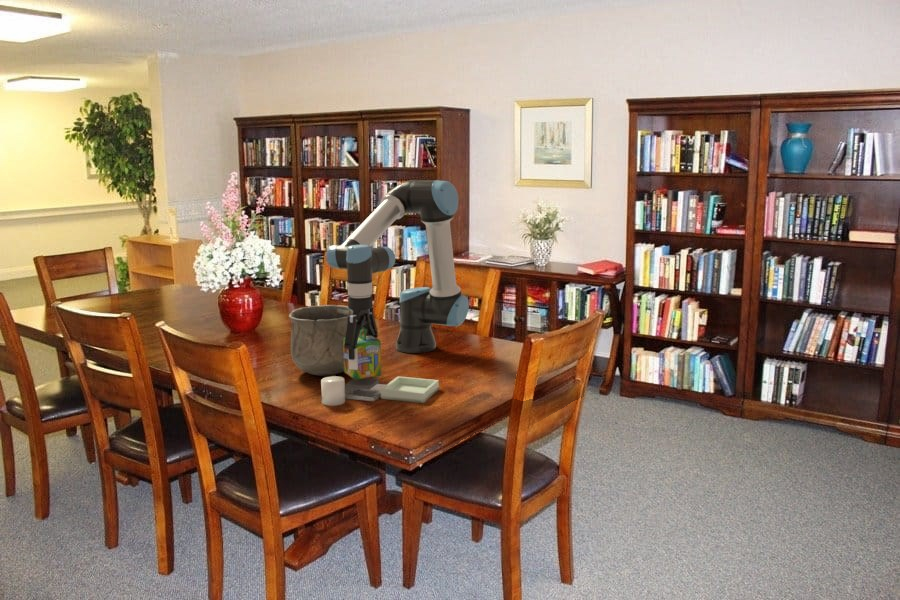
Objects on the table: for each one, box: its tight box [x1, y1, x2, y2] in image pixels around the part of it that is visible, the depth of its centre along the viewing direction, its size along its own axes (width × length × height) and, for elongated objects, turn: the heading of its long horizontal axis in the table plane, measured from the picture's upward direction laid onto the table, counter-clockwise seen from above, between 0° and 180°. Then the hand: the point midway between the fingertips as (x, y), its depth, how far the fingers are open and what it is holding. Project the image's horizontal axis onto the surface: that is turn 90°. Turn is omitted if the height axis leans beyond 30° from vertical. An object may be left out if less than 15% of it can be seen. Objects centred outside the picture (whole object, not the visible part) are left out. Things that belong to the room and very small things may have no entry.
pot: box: [288, 304, 353, 377], centre depth 261 cm, size 25×24×21 cm
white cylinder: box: [320, 375, 346, 407], centre depth 233 cm, size 7×7×7 cm
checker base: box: [345, 383, 387, 402], centre depth 242 cm, size 13×13×2 cm
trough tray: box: [380, 375, 440, 404], centre depth 241 cm, size 14×14×3 cm
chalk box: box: [343, 328, 382, 380], centre depth 239 cm, size 9×9×15 cm
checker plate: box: [345, 377, 381, 390], centre depth 241 cm, size 8×8×1 cm
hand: (362, 363), depth 240 cm, fingers closed on chalk box, 12 cm apart
